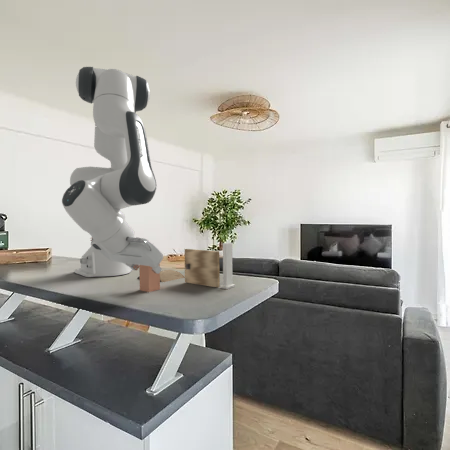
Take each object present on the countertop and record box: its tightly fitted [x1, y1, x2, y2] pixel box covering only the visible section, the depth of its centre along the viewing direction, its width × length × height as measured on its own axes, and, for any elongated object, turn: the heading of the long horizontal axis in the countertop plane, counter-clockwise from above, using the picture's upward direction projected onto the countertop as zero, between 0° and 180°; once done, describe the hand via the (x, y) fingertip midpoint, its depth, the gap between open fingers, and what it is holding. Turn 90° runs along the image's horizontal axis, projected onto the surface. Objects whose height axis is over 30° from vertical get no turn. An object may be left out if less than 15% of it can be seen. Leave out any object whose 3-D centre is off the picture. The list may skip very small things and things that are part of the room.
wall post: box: [220, 242, 236, 290], centre depth 91 cm, size 2×4×13 cm, turn 143°
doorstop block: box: [138, 263, 161, 293], centre depth 89 cm, size 4×4×8 cm
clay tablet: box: [137, 269, 185, 283], centre depth 107 cm, size 14×10×3 cm
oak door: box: [184, 248, 221, 288], centre depth 94 cm, size 13×2×10 cm, turn 53°
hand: (147, 269), depth 88 cm, fingers open, 8 cm apart
